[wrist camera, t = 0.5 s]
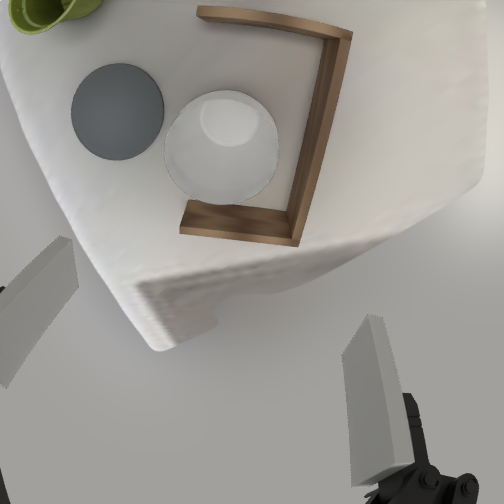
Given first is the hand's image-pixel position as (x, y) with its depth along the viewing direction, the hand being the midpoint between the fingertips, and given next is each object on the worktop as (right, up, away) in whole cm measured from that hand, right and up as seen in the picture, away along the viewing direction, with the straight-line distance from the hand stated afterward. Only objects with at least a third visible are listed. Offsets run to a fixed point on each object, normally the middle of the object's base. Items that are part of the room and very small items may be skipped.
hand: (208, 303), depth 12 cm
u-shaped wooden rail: (+2, +16, +19) cm, 25 cm away
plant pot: (-17, +31, +8) cm, 36 cm away
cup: (-1, +17, +19) cm, 25 cm away
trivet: (-14, +18, +18) cm, 29 cm away
